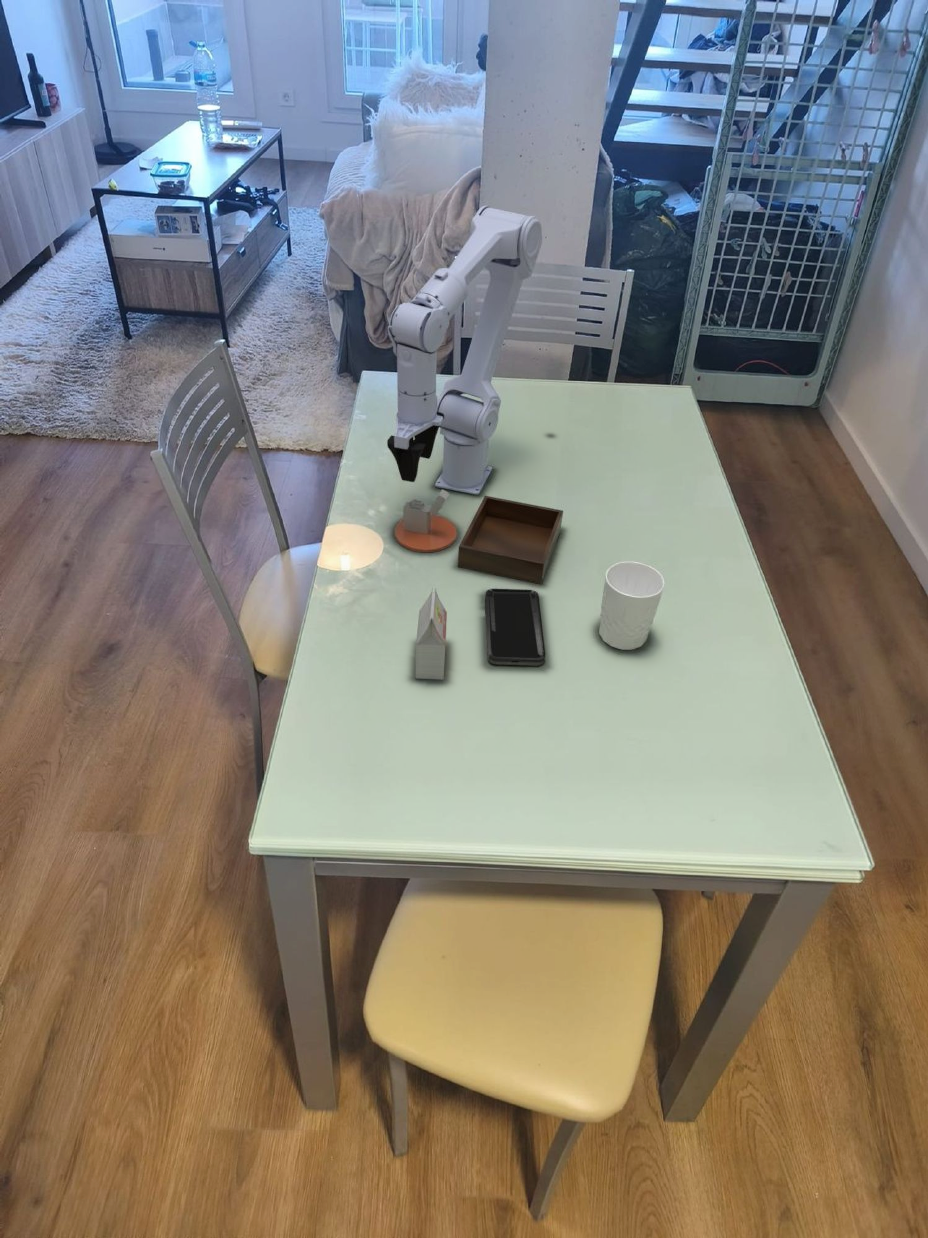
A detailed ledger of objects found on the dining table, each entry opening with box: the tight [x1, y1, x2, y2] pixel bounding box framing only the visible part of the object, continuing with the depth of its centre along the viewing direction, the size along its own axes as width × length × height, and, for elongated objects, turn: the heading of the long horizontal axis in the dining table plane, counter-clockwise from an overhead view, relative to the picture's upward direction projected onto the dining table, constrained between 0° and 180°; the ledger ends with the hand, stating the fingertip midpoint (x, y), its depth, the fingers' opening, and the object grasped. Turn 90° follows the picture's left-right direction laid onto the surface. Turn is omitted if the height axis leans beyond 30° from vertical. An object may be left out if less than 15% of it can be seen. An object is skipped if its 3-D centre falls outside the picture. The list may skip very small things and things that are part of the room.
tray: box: [457, 495, 564, 585], centre depth 130 cm, size 15×13×4 cm
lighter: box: [403, 488, 450, 535], centre depth 130 cm, size 7×2×8 cm, turn 74°
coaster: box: [394, 514, 458, 553], centre depth 133 cm, size 10×10×1 cm
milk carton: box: [415, 587, 448, 681], centre depth 107 cm, size 4×7×10 cm, turn 179°
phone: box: [484, 588, 546, 667], centre depth 116 cm, size 8×1×15 cm
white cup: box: [598, 560, 666, 651], centre depth 113 cm, size 8×8×10 cm
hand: (416, 468), depth 130 cm, fingers open, 7 cm apart
